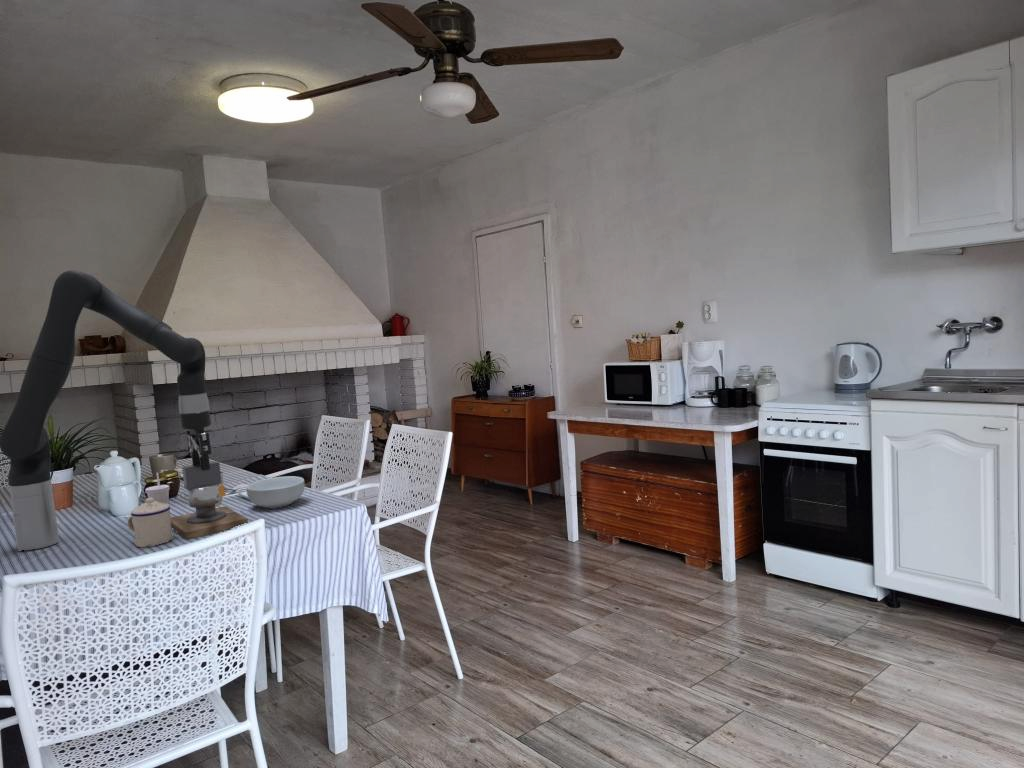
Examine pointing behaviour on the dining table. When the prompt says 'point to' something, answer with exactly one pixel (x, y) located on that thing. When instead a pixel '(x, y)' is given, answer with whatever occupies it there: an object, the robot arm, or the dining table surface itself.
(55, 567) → the dining table surface
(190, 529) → the lock base
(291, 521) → the dining table surface
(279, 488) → the cereal bowl
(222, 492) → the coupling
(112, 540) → the dining table surface
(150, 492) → the smoothie
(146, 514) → the teacup with lid
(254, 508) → the dining table surface
